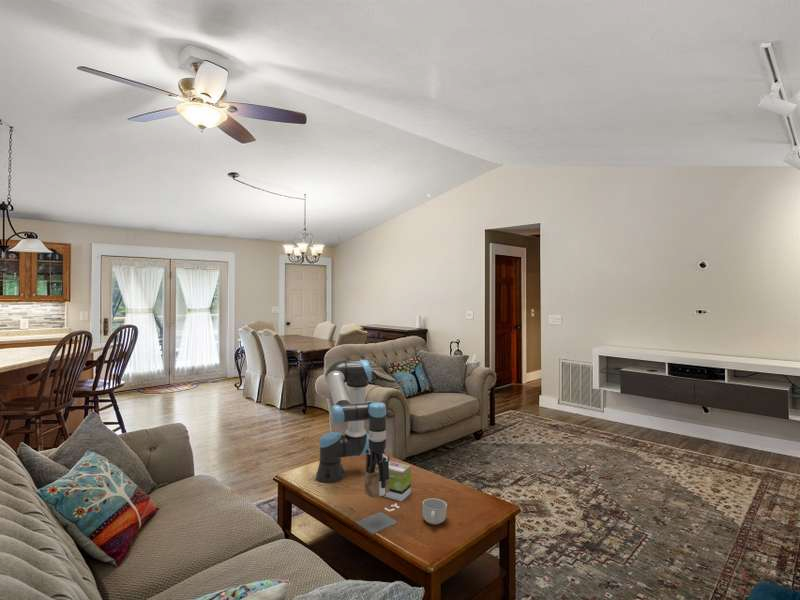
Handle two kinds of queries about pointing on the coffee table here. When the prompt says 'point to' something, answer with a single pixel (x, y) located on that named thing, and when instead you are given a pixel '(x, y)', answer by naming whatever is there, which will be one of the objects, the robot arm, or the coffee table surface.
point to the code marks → (392, 509)
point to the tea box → (398, 481)
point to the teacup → (434, 510)
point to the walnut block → (374, 484)
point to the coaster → (376, 522)
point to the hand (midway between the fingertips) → (377, 492)
